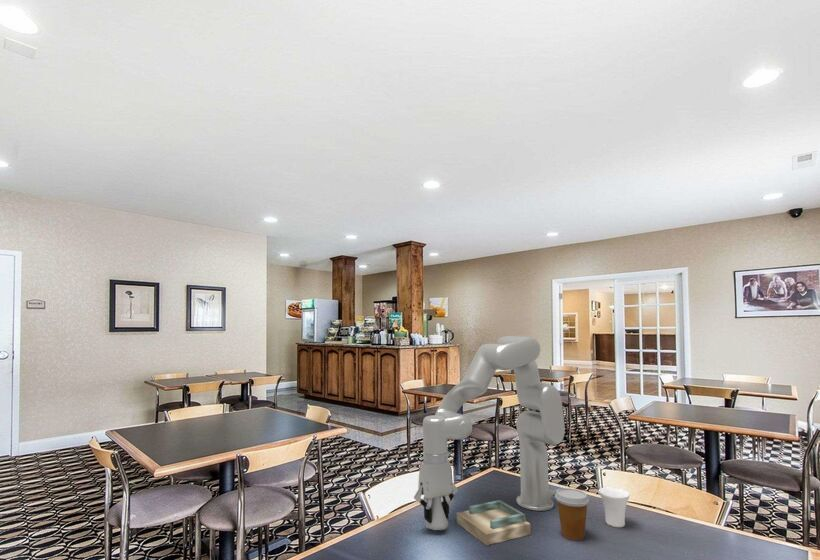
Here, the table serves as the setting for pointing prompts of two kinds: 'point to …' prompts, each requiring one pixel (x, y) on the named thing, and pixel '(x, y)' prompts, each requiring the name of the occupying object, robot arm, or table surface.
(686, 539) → the table surface
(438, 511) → the flask
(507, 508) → the dock
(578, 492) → the disposable coffee cup
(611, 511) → the cup
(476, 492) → the table surface
